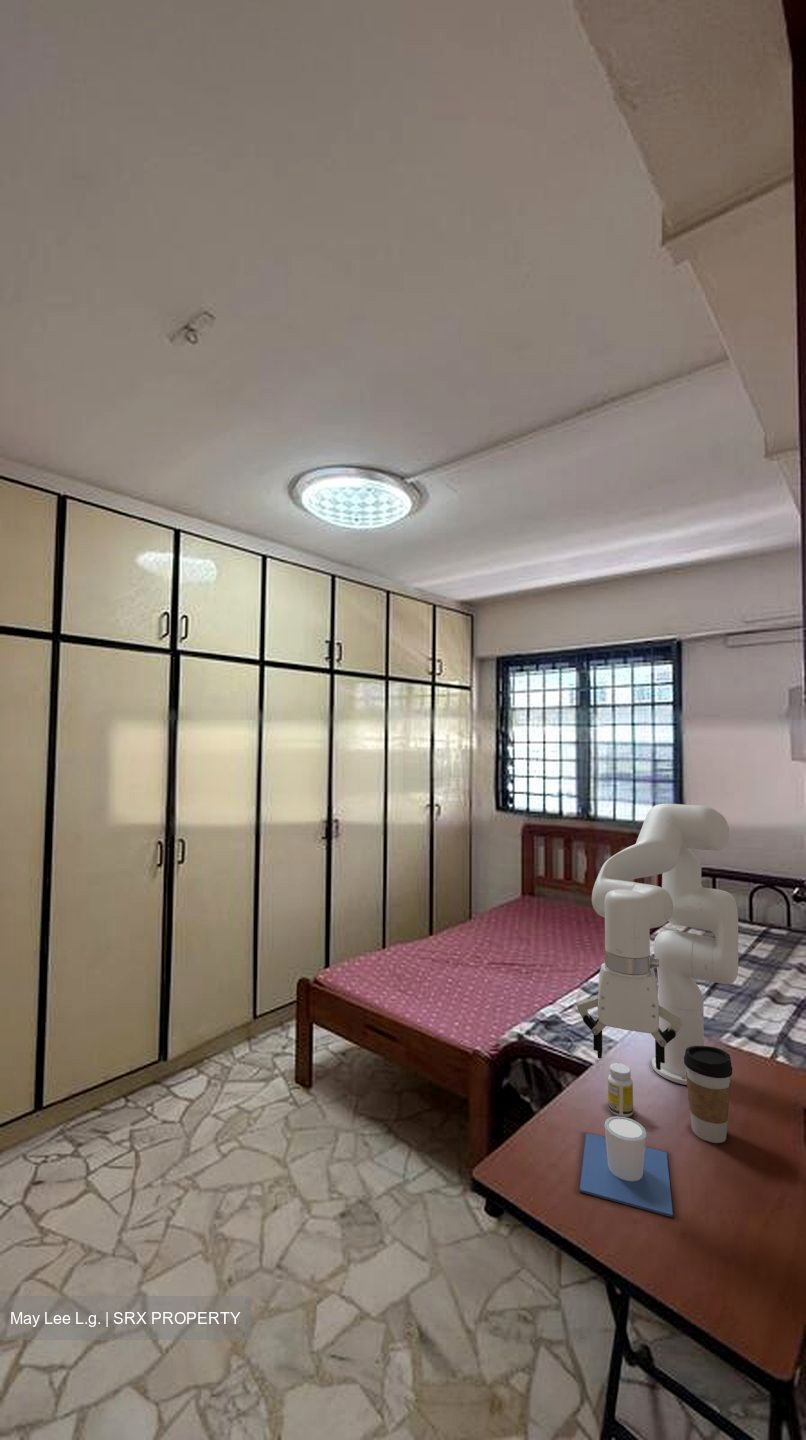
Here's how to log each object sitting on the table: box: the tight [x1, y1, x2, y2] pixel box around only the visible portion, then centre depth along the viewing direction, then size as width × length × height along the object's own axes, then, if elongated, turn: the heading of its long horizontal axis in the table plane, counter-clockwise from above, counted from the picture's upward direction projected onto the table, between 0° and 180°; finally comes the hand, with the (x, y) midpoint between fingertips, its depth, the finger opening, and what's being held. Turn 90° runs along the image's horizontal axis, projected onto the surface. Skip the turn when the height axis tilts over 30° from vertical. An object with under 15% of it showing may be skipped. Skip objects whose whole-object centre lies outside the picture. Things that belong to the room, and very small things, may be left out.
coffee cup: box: [684, 1045, 733, 1144], centre depth 113 cm, size 8×8×15 cm
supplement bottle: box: [607, 1062, 634, 1118], centre depth 119 cm, size 5×5×8 cm
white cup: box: [603, 1115, 647, 1181], centre depth 101 cm, size 7×7×7 cm
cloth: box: [579, 1132, 674, 1218], centre depth 101 cm, size 16×14×1 cm
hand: (628, 1060), depth 103 cm, fingers open, 9 cm apart
